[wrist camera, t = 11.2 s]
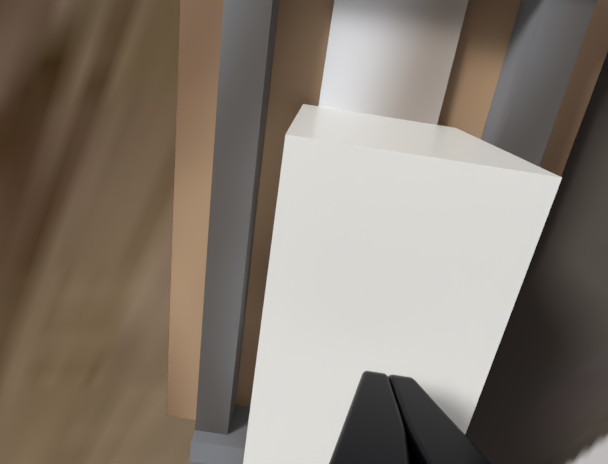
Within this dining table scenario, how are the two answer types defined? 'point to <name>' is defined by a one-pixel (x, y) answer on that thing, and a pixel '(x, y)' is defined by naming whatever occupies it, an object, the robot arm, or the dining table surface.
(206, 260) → the rail mount
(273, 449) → the block
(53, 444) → the dining table surface
